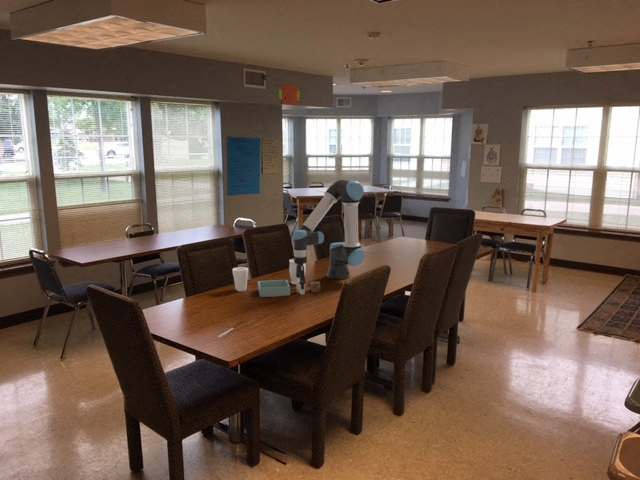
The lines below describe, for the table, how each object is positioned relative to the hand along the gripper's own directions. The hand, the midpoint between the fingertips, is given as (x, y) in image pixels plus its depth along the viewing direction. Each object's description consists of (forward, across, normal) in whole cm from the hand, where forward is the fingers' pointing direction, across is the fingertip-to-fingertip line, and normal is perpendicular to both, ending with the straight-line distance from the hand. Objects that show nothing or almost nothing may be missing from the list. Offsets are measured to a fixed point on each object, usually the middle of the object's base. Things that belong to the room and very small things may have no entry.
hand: (300, 291), depth 305 cm
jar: (0, -19, +1) cm, 19 cm away
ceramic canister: (0, 0, 0) cm, 0 cm away
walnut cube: (0, 0, +9) cm, 9 cm away
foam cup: (0, -11, -35) cm, 37 cm away
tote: (0, 0, -16) cm, 16 cm away
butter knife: (+1, +54, -41) cm, 68 cm away
